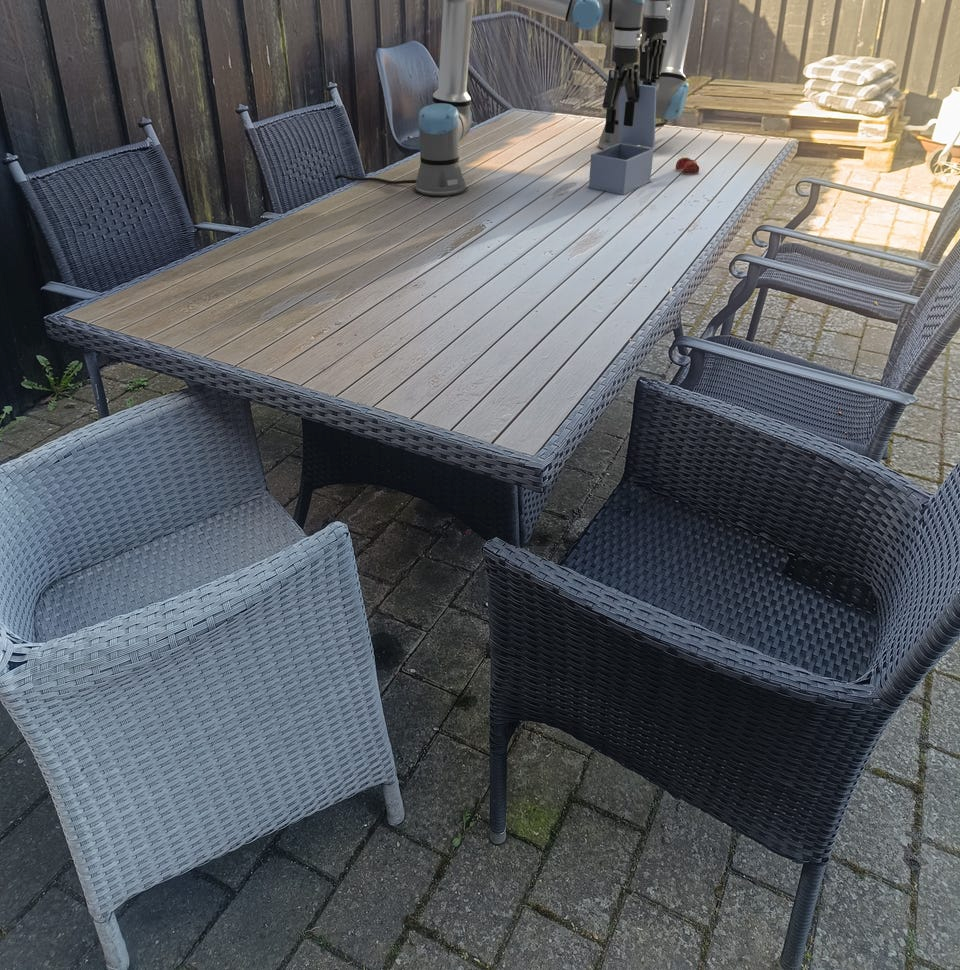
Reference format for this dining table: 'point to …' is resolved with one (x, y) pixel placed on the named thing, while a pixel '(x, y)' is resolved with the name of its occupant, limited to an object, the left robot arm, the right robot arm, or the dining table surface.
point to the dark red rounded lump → (687, 165)
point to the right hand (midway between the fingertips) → (647, 103)
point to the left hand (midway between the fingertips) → (618, 129)
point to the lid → (639, 117)
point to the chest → (620, 168)
